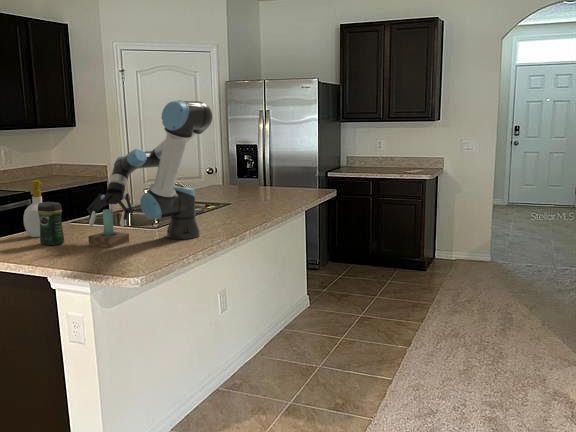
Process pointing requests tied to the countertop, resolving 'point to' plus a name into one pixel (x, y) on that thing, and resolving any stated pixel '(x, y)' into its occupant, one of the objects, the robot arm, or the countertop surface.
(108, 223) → the dowel
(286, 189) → the countertop surface
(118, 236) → the bore block
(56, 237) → the coffee jar
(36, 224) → the soap bottle
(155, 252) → the countertop surface
